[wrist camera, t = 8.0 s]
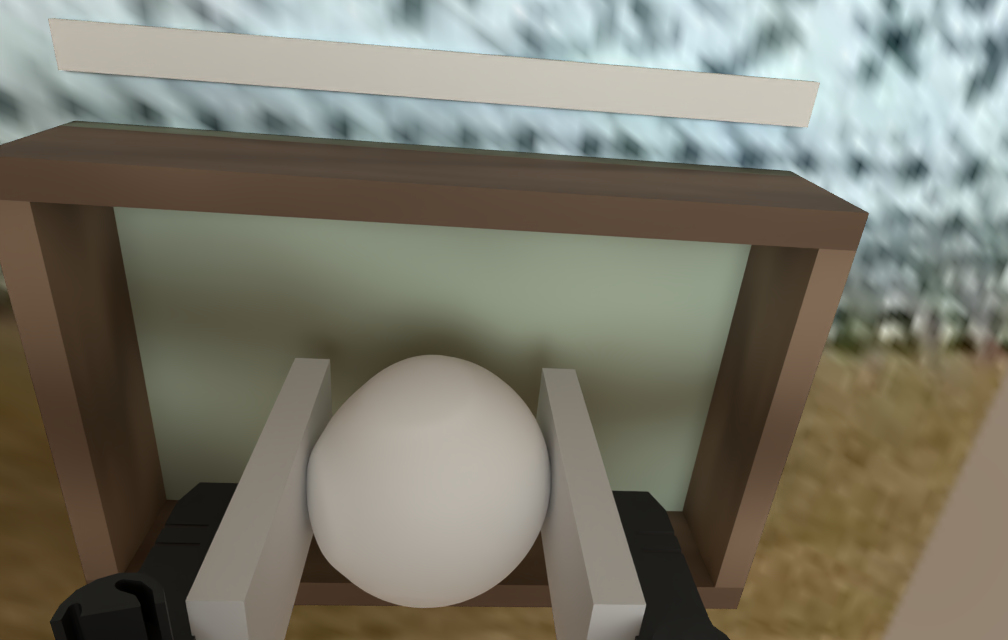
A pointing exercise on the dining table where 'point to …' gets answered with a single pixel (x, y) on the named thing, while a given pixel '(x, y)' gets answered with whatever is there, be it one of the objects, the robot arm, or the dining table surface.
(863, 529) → the dining table surface
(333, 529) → the cream egg
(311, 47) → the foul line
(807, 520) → the dining table surface
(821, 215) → the brown wooden tray
